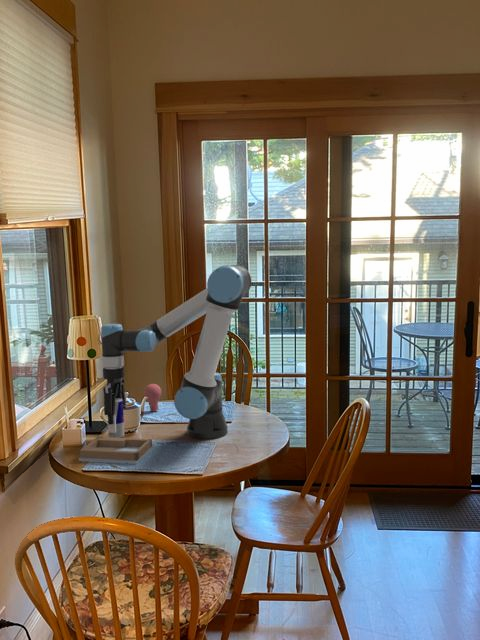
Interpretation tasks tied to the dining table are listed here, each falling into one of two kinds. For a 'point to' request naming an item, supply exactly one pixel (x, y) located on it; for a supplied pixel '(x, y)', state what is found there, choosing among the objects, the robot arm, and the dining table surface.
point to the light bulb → (153, 396)
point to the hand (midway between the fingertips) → (116, 429)
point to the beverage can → (119, 419)
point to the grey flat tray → (116, 450)
